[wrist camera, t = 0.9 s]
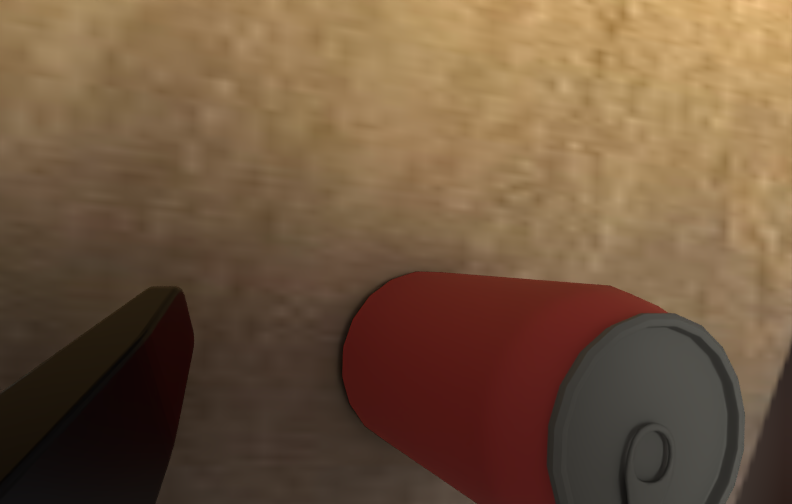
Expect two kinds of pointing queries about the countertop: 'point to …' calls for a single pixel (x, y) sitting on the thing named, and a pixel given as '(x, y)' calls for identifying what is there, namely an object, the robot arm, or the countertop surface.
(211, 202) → the countertop surface
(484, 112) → the countertop surface
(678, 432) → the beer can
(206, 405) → the countertop surface
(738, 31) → the countertop surface
